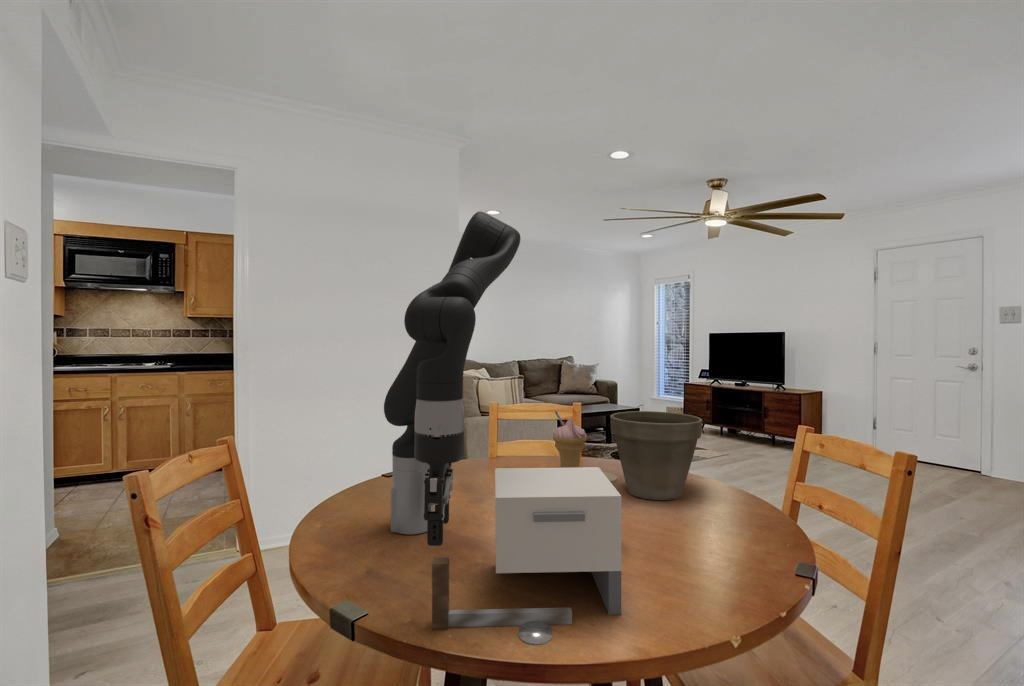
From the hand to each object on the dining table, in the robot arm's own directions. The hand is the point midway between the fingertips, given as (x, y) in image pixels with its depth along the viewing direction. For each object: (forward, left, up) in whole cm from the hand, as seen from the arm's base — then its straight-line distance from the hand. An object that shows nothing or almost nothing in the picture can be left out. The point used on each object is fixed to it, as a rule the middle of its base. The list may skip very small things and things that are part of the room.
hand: (438, 533), depth 80 cm
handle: (+32, +28, -15) cm, 45 cm away
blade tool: (+10, 0, -14) cm, 17 cm away
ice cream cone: (+33, +86, -15) cm, 93 cm away
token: (+15, -3, -15) cm, 21 cm away
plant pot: (+54, +65, -15) cm, 86 cm away
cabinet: (+19, +11, -14) cm, 26 cm away
